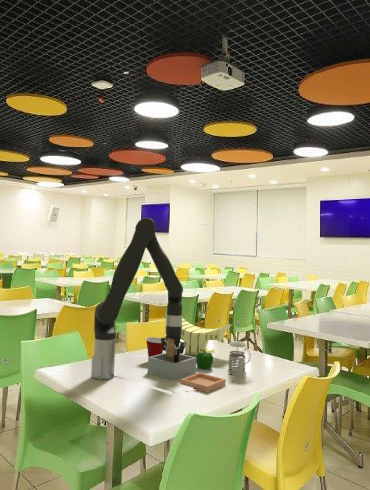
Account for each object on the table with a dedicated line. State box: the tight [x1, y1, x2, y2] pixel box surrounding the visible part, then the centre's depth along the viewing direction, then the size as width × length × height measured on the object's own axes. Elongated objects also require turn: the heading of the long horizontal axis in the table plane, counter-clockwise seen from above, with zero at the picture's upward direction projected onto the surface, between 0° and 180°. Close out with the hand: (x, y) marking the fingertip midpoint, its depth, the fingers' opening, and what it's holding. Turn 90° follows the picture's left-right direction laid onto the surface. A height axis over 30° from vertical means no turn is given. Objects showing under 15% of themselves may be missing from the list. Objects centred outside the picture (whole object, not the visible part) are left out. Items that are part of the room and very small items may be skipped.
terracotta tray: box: [180, 372, 227, 393], centre depth 176 cm, size 14×14×2 cm
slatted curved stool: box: [181, 317, 231, 357], centre depth 232 cm, size 30×16×18 cm, turn 65°
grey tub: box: [147, 352, 197, 381], centre depth 190 cm, size 16×16×8 cm
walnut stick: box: [166, 338, 178, 363], centre depth 190 cm, size 4×4×16 cm
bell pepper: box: [195, 349, 214, 371], centre depth 200 cm, size 8×8×10 cm
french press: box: [226, 320, 252, 376], centre depth 197 cm, size 10×12×25 cm
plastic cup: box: [145, 336, 164, 357], centre depth 211 cm, size 11×11×12 cm
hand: (172, 361), depth 190 cm, fingers closed on walnut stick, 4 cm apart
